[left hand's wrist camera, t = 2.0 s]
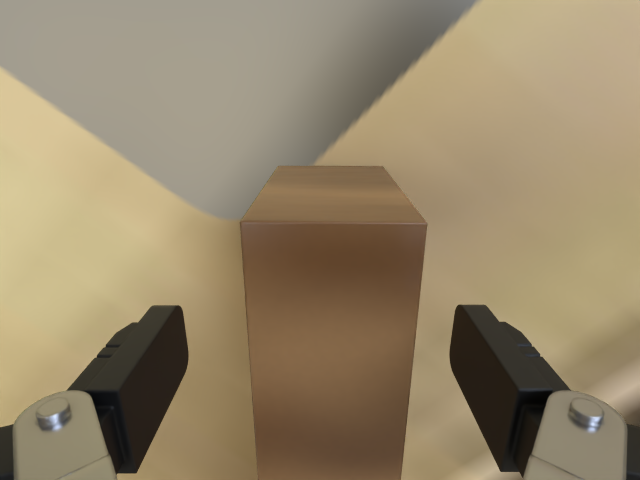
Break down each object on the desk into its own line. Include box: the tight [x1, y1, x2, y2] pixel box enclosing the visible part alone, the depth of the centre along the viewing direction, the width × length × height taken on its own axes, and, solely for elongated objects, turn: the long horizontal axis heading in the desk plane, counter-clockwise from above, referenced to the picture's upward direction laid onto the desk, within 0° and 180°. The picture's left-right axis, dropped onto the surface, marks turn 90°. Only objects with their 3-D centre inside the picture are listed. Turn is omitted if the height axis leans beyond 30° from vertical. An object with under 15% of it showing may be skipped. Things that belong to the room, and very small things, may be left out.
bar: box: [240, 166, 427, 480], centre depth 18 cm, size 24×5×8 cm, turn 0°
